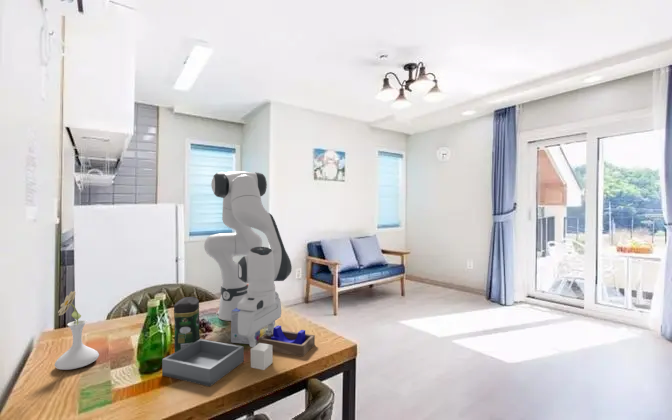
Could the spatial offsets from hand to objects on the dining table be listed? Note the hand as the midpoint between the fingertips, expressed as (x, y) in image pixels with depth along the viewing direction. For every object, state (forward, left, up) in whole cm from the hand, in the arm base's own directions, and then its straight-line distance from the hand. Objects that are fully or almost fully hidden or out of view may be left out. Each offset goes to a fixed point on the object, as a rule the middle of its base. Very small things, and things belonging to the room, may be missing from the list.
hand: (261, 340), depth 106 cm
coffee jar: (0, -31, -8) cm, 32 cm away
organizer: (-15, +1, -8) cm, 17 cm away
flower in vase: (+21, -56, -8) cm, 60 cm away
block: (0, 0, -8) cm, 8 cm away
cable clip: (-16, +1, -9) cm, 19 cm away
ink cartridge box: (-14, -16, -9) cm, 23 cm away
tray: (+8, -16, -8) cm, 20 cm away
